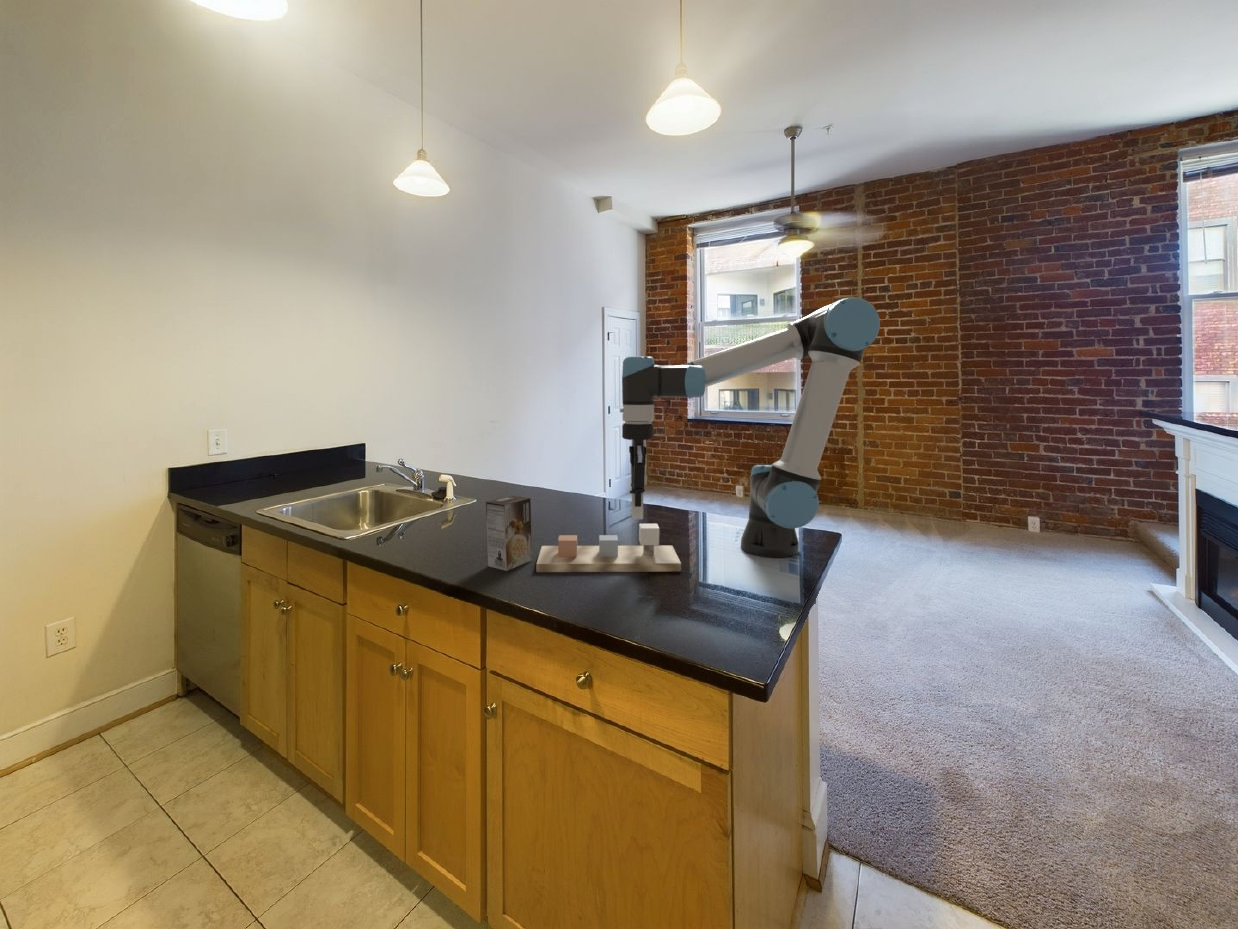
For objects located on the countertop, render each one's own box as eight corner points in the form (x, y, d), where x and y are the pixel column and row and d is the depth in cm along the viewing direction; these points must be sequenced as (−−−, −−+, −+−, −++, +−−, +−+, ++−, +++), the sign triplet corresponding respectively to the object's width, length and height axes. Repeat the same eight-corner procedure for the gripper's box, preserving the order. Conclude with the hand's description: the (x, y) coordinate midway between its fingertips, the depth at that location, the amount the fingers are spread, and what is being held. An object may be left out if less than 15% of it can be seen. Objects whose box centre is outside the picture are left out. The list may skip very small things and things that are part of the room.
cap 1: (577, 551, 134) (577, 535, 133) (576, 557, 130) (576, 540, 129) (559, 551, 134) (559, 535, 133) (558, 557, 129) (558, 540, 129)
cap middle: (617, 551, 135) (617, 535, 134) (617, 557, 130) (618, 540, 129) (599, 551, 134) (599, 535, 134) (599, 557, 130) (599, 540, 129)
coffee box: (513, 556, 136) (512, 494, 133) (532, 561, 132) (531, 497, 130) (486, 566, 128) (485, 501, 126) (506, 571, 125) (505, 504, 122)
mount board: (672, 552, 140) (672, 534, 140) (680, 571, 126) (681, 551, 126) (542, 553, 138) (541, 534, 138) (536, 572, 125) (536, 551, 124)
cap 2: (656, 539, 135) (657, 523, 134) (658, 545, 130) (659, 528, 130) (638, 539, 134) (639, 523, 134) (640, 545, 130) (640, 528, 129)
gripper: (620, 420, 134) (620, 512, 137) (623, 424, 121) (623, 525, 124) (650, 420, 134) (649, 512, 138) (656, 424, 121) (655, 525, 125)
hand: (637, 518), depth 131 cm, fingers closed
